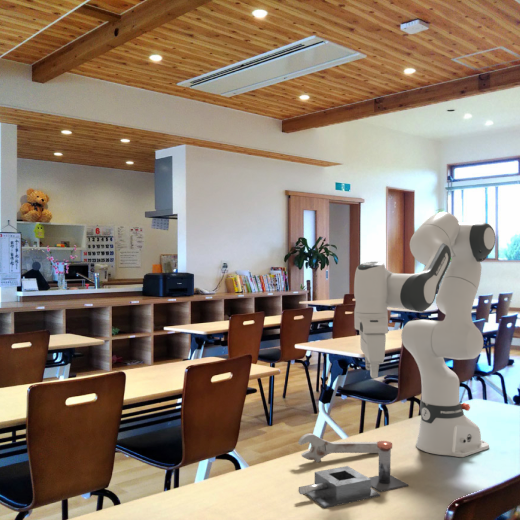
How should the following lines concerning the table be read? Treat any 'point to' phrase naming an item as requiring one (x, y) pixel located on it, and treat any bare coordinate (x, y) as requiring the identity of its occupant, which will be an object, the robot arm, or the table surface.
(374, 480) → the mat
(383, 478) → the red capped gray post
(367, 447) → the wrench
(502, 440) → the table surface
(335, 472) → the grey square socket base
